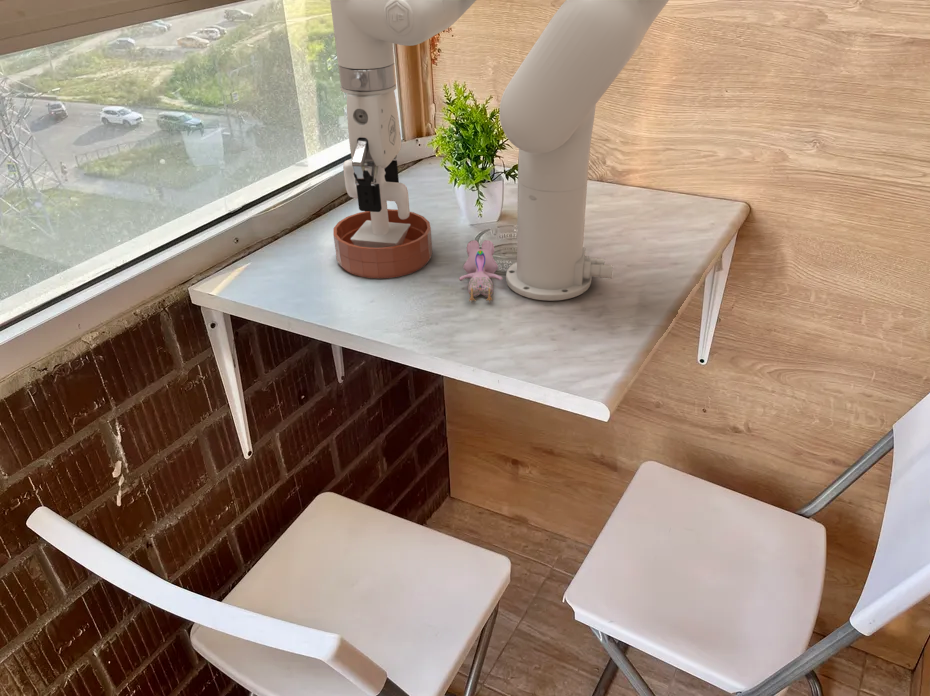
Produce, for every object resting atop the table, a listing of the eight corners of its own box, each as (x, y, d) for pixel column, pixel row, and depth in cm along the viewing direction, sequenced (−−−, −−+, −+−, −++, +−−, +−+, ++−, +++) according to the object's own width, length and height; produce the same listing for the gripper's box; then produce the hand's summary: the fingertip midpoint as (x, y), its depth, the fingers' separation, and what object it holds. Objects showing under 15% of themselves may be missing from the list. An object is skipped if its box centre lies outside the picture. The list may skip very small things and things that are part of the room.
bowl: (440, 241, 125) (439, 212, 122) (420, 282, 113) (417, 251, 110) (353, 235, 126) (350, 206, 123) (324, 276, 115) (319, 245, 112)
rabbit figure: (502, 310, 109) (500, 249, 120) (503, 277, 105) (500, 216, 116) (459, 311, 109) (460, 250, 120) (457, 277, 105) (459, 217, 115)
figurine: (405, 266, 116) (397, 169, 107) (346, 260, 117) (333, 164, 109) (418, 246, 122) (412, 152, 113) (362, 241, 123) (351, 148, 115)
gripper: (377, 95, 97) (389, 222, 107) (410, 63, 111) (418, 178, 121) (319, 93, 98) (336, 219, 107) (359, 61, 112) (371, 176, 121)
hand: (379, 197), depth 114 cm, fingers open, 9 cm apart
